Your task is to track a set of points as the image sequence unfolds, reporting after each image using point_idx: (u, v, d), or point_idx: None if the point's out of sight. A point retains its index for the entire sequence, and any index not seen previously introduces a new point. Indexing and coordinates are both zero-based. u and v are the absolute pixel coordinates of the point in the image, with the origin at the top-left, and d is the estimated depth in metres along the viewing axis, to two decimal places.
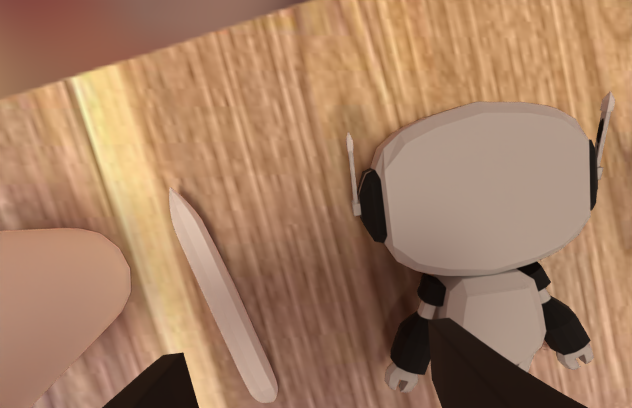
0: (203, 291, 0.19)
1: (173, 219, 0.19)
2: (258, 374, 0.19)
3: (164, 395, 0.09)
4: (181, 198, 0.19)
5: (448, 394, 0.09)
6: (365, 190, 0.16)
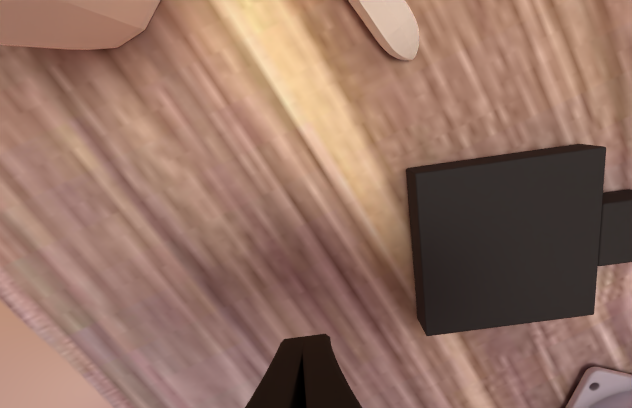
0: None
1: None
2: None
3: (303, 377, 0.08)
4: None
5: None
6: None
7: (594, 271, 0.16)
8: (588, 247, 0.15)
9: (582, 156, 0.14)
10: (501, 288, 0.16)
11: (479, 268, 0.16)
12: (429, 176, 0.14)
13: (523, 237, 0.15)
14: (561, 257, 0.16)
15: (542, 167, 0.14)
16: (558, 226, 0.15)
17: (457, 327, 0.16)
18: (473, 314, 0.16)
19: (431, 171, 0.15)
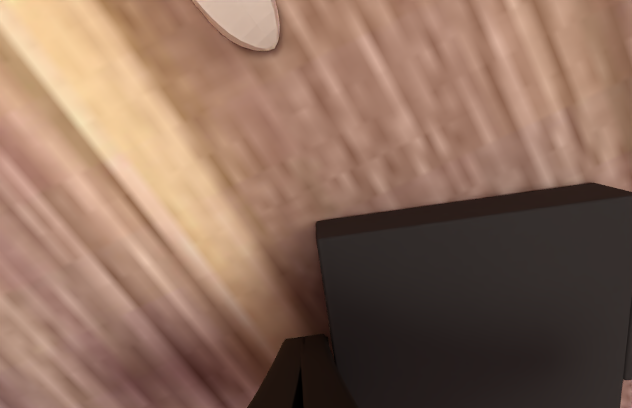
0: None
1: None
2: None
3: None
4: None
5: None
6: None
7: (618, 388, 0.10)
8: (609, 352, 0.09)
9: (601, 210, 0.08)
10: None
11: (432, 386, 0.10)
12: (340, 243, 0.08)
13: (503, 339, 0.09)
14: (565, 368, 0.10)
15: (533, 228, 0.08)
16: (560, 321, 0.09)
17: None
18: None
19: (344, 235, 0.09)
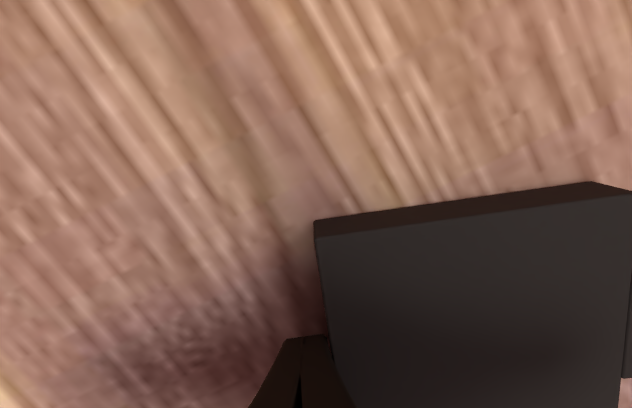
0: None
1: None
2: None
3: None
4: None
5: None
6: None
7: (616, 387, 0.10)
8: (606, 351, 0.09)
9: (599, 209, 0.08)
10: None
11: (430, 384, 0.10)
12: (338, 242, 0.09)
13: (501, 338, 0.09)
14: (563, 367, 0.10)
15: (530, 227, 0.08)
16: (558, 319, 0.09)
17: None
18: None
19: (342, 233, 0.09)
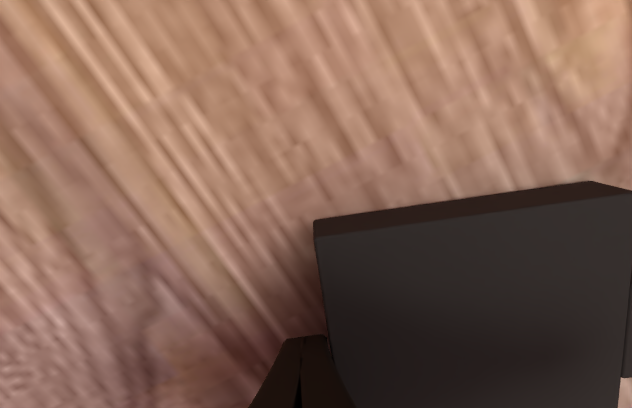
0: None
1: None
2: None
3: None
4: None
5: None
6: None
7: (615, 386, 0.10)
8: (606, 350, 0.09)
9: (599, 208, 0.08)
10: None
11: (430, 384, 0.10)
12: (337, 242, 0.09)
13: (501, 337, 0.09)
14: (562, 366, 0.10)
15: (530, 226, 0.08)
16: (558, 318, 0.09)
17: None
18: None
19: (341, 233, 0.09)
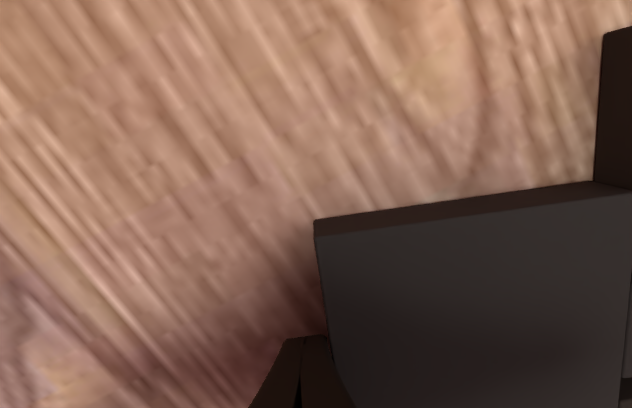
0: None
1: None
2: None
3: None
4: None
5: None
6: None
7: (616, 386, 0.10)
8: (606, 350, 0.09)
9: (599, 208, 0.08)
10: None
11: (430, 384, 0.10)
12: (338, 242, 0.09)
13: (501, 337, 0.09)
14: (562, 366, 0.10)
15: (530, 226, 0.08)
16: (558, 318, 0.09)
17: None
18: None
19: (342, 233, 0.09)
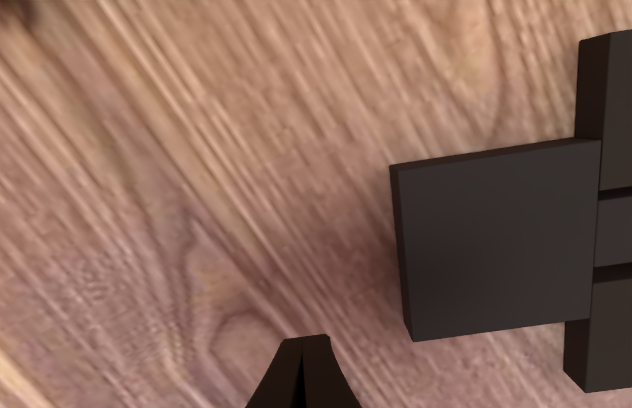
0: None
1: None
2: None
3: (303, 377, 0.08)
4: None
5: None
6: None
7: (589, 272, 0.15)
8: (583, 247, 0.14)
9: (576, 151, 0.13)
10: (491, 291, 0.15)
11: (468, 271, 0.15)
12: (412, 173, 0.14)
13: (514, 238, 0.14)
14: (554, 258, 0.15)
15: (533, 162, 0.14)
16: (551, 225, 0.14)
17: (445, 333, 0.15)
18: (462, 319, 0.15)
19: (414, 168, 0.14)
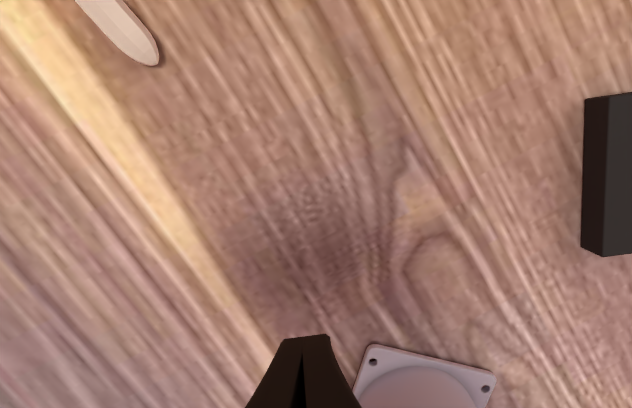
0: None
1: None
2: (113, 11, 0.15)
3: (303, 377, 0.08)
4: None
5: None
6: None
7: None
8: None
9: None
10: None
11: None
12: (622, 99, 0.16)
13: None
14: None
15: None
16: None
17: None
18: None
19: (623, 94, 0.16)
